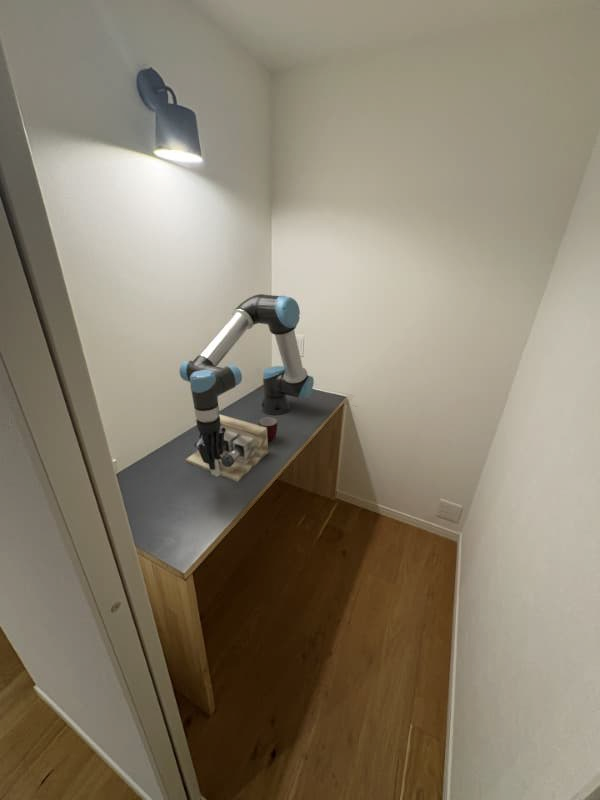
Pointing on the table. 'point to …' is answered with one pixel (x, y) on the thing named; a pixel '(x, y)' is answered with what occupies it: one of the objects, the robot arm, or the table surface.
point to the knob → (232, 456)
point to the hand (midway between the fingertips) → (215, 474)
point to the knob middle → (225, 446)
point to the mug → (269, 427)
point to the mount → (238, 435)
